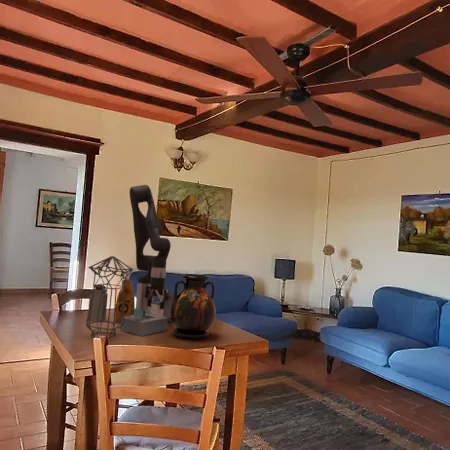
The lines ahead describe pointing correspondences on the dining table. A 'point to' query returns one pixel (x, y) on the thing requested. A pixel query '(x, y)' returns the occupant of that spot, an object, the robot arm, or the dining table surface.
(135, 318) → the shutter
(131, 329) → the socket
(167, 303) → the coffee pot
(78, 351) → the dining table surface
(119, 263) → the geometric lantern
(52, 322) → the dining table surface
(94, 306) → the perfume bottle
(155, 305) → the plug
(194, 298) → the amphora vase
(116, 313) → the coffee package
